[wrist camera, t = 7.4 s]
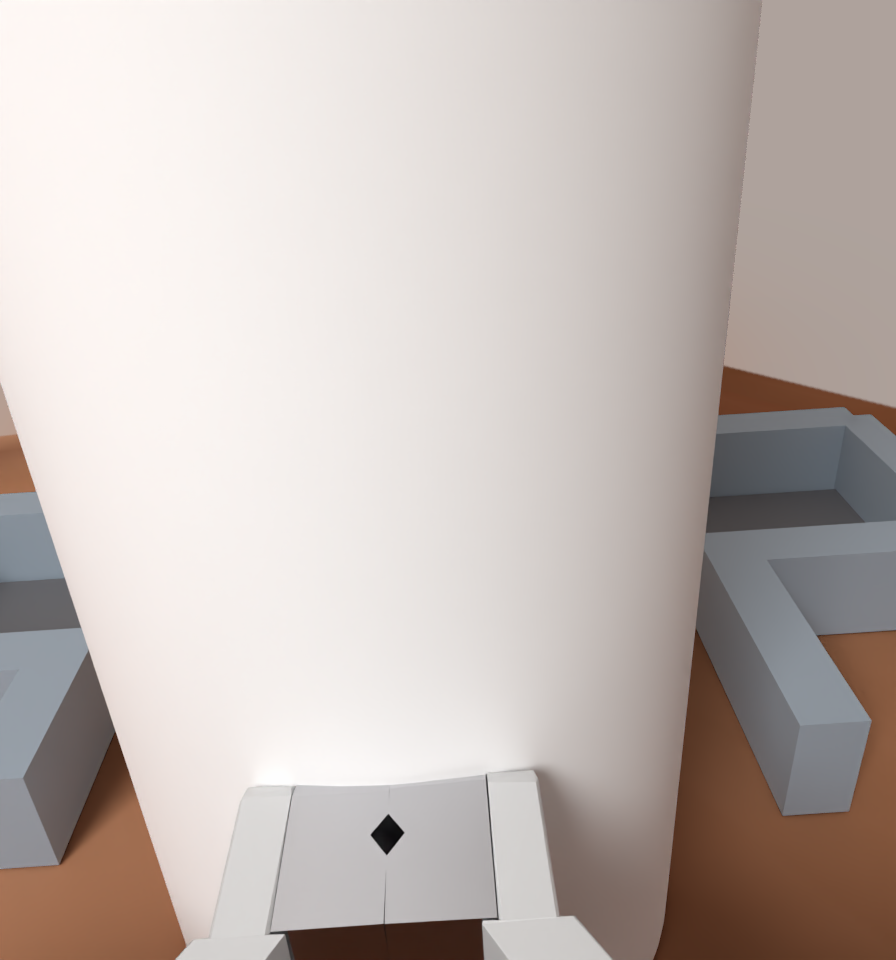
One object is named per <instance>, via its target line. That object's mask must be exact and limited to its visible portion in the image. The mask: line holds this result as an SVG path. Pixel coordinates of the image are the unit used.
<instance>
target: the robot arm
mask: <svg viewBox="0 0 896 960" xmlns="http://www.w3.org/2000/svg"><path fill="white" fill-rule="evenodd" d="M175 960H613V958H612V957H611V956H610V955H609V954H608V953H607V952H606V950H605V949H604V948H603V947H602V946H601V945H600V944H599V942H598V941H597V940H596V939H595V938H594V937H593V936H592V934H591V933H590V932H589V931H588V930H587V929H586V928H585V926H584V925H583V924H582V923H581V922H580V921H579V920H578V918H577V917H576V916H560V915H559V909H558V902H557V896H556V890H555V883H554V877H553V871H552V864H551V858H550V852H549V845H548V839H547V832H546V826H545V820H544V813H543V807H542V801H541V794H540V788H539V782H538V777H537V776H536V774H535V772H534V771H533V770H530V771H515V772H500V773H487V787H486V777H485V775H478V776H470V777H462V778H452V779H442V780H434V781H426V782H417V783H407V784H396V785H374V786H314V785H296V787H295V786H272V787H249V788H247V790H246V791H245V793H244V795H243V797H242V799H241V801H240V803H239V808H238V812H237V816H236V821H235V825H234V829H233V833H232V838H231V842H230V846H229V851H228V855H227V859H226V864H225V868H224V872H223V877H222V881H221V885H220V890H219V894H218V898H217V903H216V907H215V911H214V916H213V920H212V924H211V929H210V933H209V937H208V938H203V939H193V940H192V941H191V942H190V943H189V944H188V946H187V947H186V948H185V949H184V950H183V951H182V952H181V953H180V955H179V956H178V957H177V958H176V959H175Z"/></svg>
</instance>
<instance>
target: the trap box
mask: <svg viewBox="0 0 896 960" xmlns="http://www.w3.org/2000/svg"><path fill="white" fill-rule="evenodd" d="M696 629H697V632H698V634H699V636H700V638H701V640H702V642H703V645H704V647H705V649H706V651H707V653H708V655H709V658H710V660H711V662H712V664H713V666H714V668H715V671H716V673H717V675H718V677H719V679H720V681H721V684H722V686H723V688H724V690H725V692H726V694H727V697H728V699H729V701H730V703H731V705H732V707H733V710H734V712H735V714H736V716H737V718H738V720H739V723H740V725H741V727H742V729H743V731H744V733H745V736H746V738H747V740H748V742H749V744H750V746H751V749H752V751H753V753H754V755H755V757H756V759H757V761H758V764H759V766H760V768H761V770H762V772H763V774H764V777H765V779H766V781H767V783H768V785H769V787H770V790H771V792H772V794H773V796H774V798H775V800H776V803H777V805H778V807H779V809H780V811H781V813H782V816H787V815H802V814H816V813H831V812H846V811H849V809H850V805H851V801H852V797H853V793H854V789H855V785H856V781H857V777H858V773H859V769H860V765H861V761H862V757H863V753H864V749H865V745H866V741H867V737H868V733H869V729H870V725H871V719H870V718H869V716H868V714H867V713H866V711H865V710H864V708H863V707H862V705H861V704H860V702H859V701H858V699H857V698H856V696H855V695H854V693H853V691H852V690H851V688H850V687H849V685H848V684H847V682H846V681H845V679H844V678H843V676H842V675H841V673H840V671H839V670H838V668H837V667H836V665H835V664H834V662H833V661H832V659H831V658H830V656H829V655H828V653H827V651H826V650H825V648H824V647H823V645H822V644H821V642H820V641H819V639H818V638H817V636H816V635H828V634H843V633H858V632H873V631H888V630H896V436H895V435H894V434H893V433H892V432H891V431H890V430H888V429H887V428H886V427H885V426H884V425H883V424H881V423H880V422H879V421H878V420H877V419H876V418H875V417H873V416H872V415H871V414H869V415H853V414H851V413H850V412H849V411H848V410H847V409H846V408H845V407H838V408H823V409H807V410H792V411H777V412H762V413H746V414H731V415H718V421H717V430H716V440H715V449H714V458H713V468H712V477H711V486H710V496H709V505H708V515H707V524H706V533H705V543H704V552H703V562H702V571H701V580H700V590H699V599H698V609H697V618H696ZM114 732H115V728H114V725H113V722H112V719H111V716H110V713H109V710H108V707H107V704H106V701H105V698H104V695H103V692H102V689H101V686H100V683H99V680H98V677H97V674H96V671H95V668H94V665H93V661H92V658H91V655H90V652H89V649H88V646H87V643H86V640H85V637H84V634H83V631H82V628H81V625H80V622H79V619H78V616H77V613H76V610H75V607H74V604H73V601H72V598H71V595H70V592H69V589H68V586H67V583H66V580H65V577H64V574H63V571H62V568H61V565H60V562H59V559H58V556H57V553H56V549H55V546H54V543H53V540H52V537H51V534H50V531H49V528H48V525H47V522H46V519H45V516H44V513H43V510H42V507H41V504H40V501H39V498H38V495H37V492H26V493H11V494H0V869H5V868H20V867H35V866H49V865H59V864H60V862H61V859H62V857H63V855H64V852H65V850H66V847H67V845H68V843H69V840H70V838H71V835H72V833H73V831H74V828H75V826H76V823H77V821H78V819H79V816H80V814H81V811H82V809H83V807H84V804H85V802H86V799H87V797H88V795H89V792H90V790H91V787H92V785H93V783H94V780H95V778H96V775H97V773H98V771H99V768H100V766H101V763H102V761H103V759H104V756H105V754H106V752H107V749H108V747H109V744H110V742H111V740H112V737H113V735H114Z"/></svg>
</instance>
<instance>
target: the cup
mask: <svg viewBox="0 0 896 960" xmlns="http://www.w3.org/2000/svg"><path fill="white" fill-rule="evenodd" d="M761 7H762V0H0V383H1V386H2V389H3V392H4V395H5V398H6V401H7V404H8V407H9V410H10V413H11V416H12V419H13V422H14V425H15V428H16V431H17V434H18V438H19V441H20V444H21V447H22V450H23V453H24V456H25V459H26V462H27V465H28V468H29V471H30V474H31V477H32V480H33V483H34V486H35V489H36V492H37V495H38V498H39V501H40V504H41V507H42V510H43V513H44V516H45V519H46V522H47V525H48V528H49V531H50V534H51V537H52V540H53V543H54V546H55V549H56V553H57V556H58V559H59V562H60V565H61V568H62V571H63V574H64V577H65V580H66V583H67V586H68V589H69V592H70V595H71V598H72V601H73V604H74V607H75V610H76V613H77V616H78V619H79V622H80V625H81V628H82V631H83V634H84V637H85V640H86V643H87V646H88V649H89V652H90V655H91V658H92V661H93V665H94V668H95V671H96V674H97V677H98V680H99V683H100V686H101V689H102V692H103V695H104V698H105V701H106V704H107V707H108V710H109V713H110V716H111V719H112V722H113V725H114V728H115V731H116V734H117V737H118V740H119V743H120V746H121V749H122V752H123V755H124V758H125V761H126V764H127V767H128V770H129V773H130V777H131V780H132V783H133V786H134V789H135V792H136V795H137V798H138V801H139V804H140V807H141V810H142V813H143V816H144V819H145V822H146V825H147V828H148V831H149V834H150V837H151V840H152V843H153V846H154V849H155V852H156V855H157V858H158V861H159V864H160V867H161V870H162V873H163V876H164V879H165V882H166V885H167V889H168V892H169V895H170V898H171V901H172V904H173V907H174V910H175V913H176V916H177V919H178V922H179V925H180V928H181V931H182V934H183V937H184V940H185V943H186V946H188V944H189V943H190V942H191V941H192V940H193V939H203V938H208V937H209V933H210V929H211V924H212V920H213V916H214V911H215V907H216V903H217V898H218V894H219V890H220V885H221V881H222V877H223V872H224V868H225V864H226V859H227V855H228V851H229V846H230V842H231V838H232V833H233V829H234V825H235V821H236V816H237V812H238V808H239V803H240V801H241V799H242V797H243V795H244V793H245V791H246V790H247V788H249V787H272V786H295V787H296V785H314V786H374V785H396V784H407V783H417V782H426V781H434V780H442V779H452V778H462V777H470V776H478V775H485V777H486V787H487V773H500V772H515V771H530V770H533V771H534V772H535V774H536V776H537V777H538V782H539V788H540V794H541V801H542V807H543V813H544V820H545V826H546V832H547V839H548V845H549V852H550V858H551V864H552V871H553V877H554V883H555V890H556V896H557V902H558V909H559V915H560V916H576V917H577V918H578V920H579V921H580V922H581V923H582V924H583V925H584V926H585V928H586V929H587V930H588V931H589V932H590V933H591V934H592V936H593V937H594V938H595V939H596V940H597V941H598V942H599V944H600V945H601V946H602V947H603V948H604V949H605V950H606V952H607V953H608V954H609V955H610V956H611V957H612V958H613V960H653V959H654V956H655V953H656V951H657V948H658V945H659V940H660V936H661V932H662V928H663V924H664V916H665V908H666V900H667V890H668V881H669V872H670V862H671V853H672V843H673V834H674V825H675V815H676V806H677V796H678V787H679V778H680V768H681V759H682V750H683V740H684V731H685V721H686V712H687V703H688V693H689V684H690V674H691V665H692V656H693V646H694V637H695V627H696V618H697V609H698V599H699V590H700V580H701V571H702V562H703V552H704V543H705V533H706V524H707V515H708V505H709V496H710V486H711V477H712V468H713V458H714V449H715V440H716V430H717V421H718V411H719V402H720V393H721V383H722V374H723V364H724V355H725V346H726V345H725V344H726V336H727V326H728V317H729V308H730V298H731V289H732V280H733V270H734V261H735V251H736V241H737V233H738V223H739V213H740V204H741V195H742V186H743V176H744V167H745V158H746V148H747V138H748V130H749V120H750V110H751V101H752V91H753V82H754V72H755V64H756V54H757V45H758V35H759V26H760V17H761Z"/></svg>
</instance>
